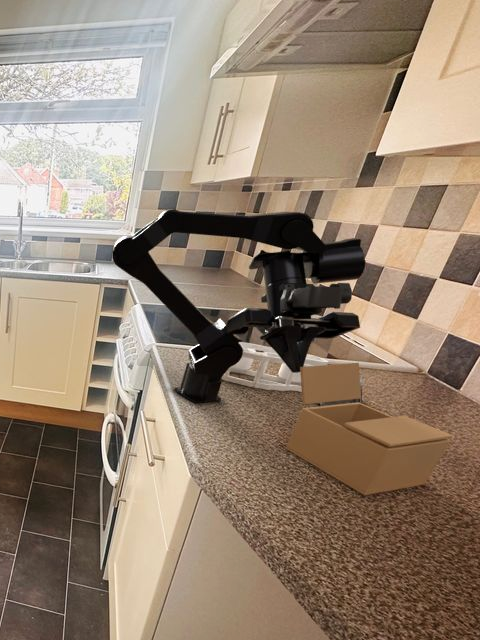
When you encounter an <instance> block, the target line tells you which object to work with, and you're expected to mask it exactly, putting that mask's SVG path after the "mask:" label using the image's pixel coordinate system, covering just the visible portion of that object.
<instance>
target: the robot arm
mask: <svg viewBox="0 0 480 640" xmlns="http://www.w3.org/2000/svg"><path fill="white" fill-rule="evenodd" d="M314 227H315V226H314V221H313V219H312V218H311V216H310V215H309V214H307V213H304V212H300V211H298V212H297V211H278V212H267V213H266V212H265V213H257V214H250V215H240V214H239V215H238V214H224V213H211V212H197V211H184V210H183V211H182V210H178V209H174V208H171V209H166V210H164V211H162V212H161V213H160V215H159V216H157V217H156V218H155V219H153V220H152V221H150V222H149V223H148V224H146V225H145V226H144V227H142V228H141V229H139V230H138V231H137V232H135V233H134V234H132V235H124V236H122V237H120V238H119V239H117V241H116V242H115V244H114V246H113V249H112V256H111V257H112V261H113V263H114V265H115V266H116V267H118V268H119V269H121V270H122V271H123V272H125V273H126V274H127V275H129V277H132V278H133V279H135V280H136V281H139V282H140V283H142V284H143V285H145V287H146V288H147V289H148V290H149V291H150V292H151V293H152V294H153V295H154V296H155V297H156V298H157V299H158V300H159V301H160V302H161V303H162V304H163V305H164V306H165V308H167V309H168V310H169V311H170V312H171V314H173V315H174V317H176V318H177V320H179V322H180V323H181V324H182V325H183V326H184V327H185V328H186V329H187V330H188V331H189V332H190V333H191V334H192V336H193V337H194V338H195V340H196V342H197V343H198V344H197V345H195V346H192V347H191V348H189V349H188V351H187V352H188V358H189V361H190V362H186V367H185V369H184V373H183V377H182V380H181V384H180V386H177V387H173V391H174V392H176V393H178V394H179V395H181V396H182V397H184V398H186V399H187V400H189V401H191V402H192V403H194V404H201V403H211V402H220V401H222V398H221V397H220V396H219V392H220V389H221V386H222V382H223V380H222V379H221V378H222V376H223V375H224V374H225V372H226V371H227V370H228V369H229V368H230V367H231V366H233V365H235V364H237V363H238V362H239V361H240V359H241V358H242V355H243V348H242V347H241V345H240V344H239V343H238V342H243V339H242V338H240V336H243V335H245V334H247V332H249V330H250V328H262V329H263V328H264V334H263V335H262V334H261V335H260V336H259V340H260V341H265V342H266V343H267V344H268V346H269V347H271V348H273V349H274V350H275V352H276V353H277V354H278V355H279V356H280V358H281V359H282V360H283V361H284V363H285V364H286V365H287V366H288V368H289V369H290V370H291V371H292V372H293V373H298V372H300V367H303V366H304V362H305V359H306V356H307V354H308V353H309V349H310V347H311V344H312V342H313V340H314V339H320V340H321V339H324V340H329V339H334V338H337V337H340V336H342V335H345V334H347V333H350V332H352V331H355V330H358V329H361V323H360V318H359V317H360V316H359V315H358V314H356V313H354V312H345V311H343V312H342V311H331V312H329V313H326V314H324V315H322V316H320V317H318V318H312V316H314V315H315V316H317V315H319V314H321V313H323V309H334V310H337V309H338V310H339V309H341V305H345V304H350V302H351V301H352V297H353V290H352V287H351V284H350V283H349V282H346V281H356V280H358V279H360V278H361V277H362V276H363V274H364V271H365V268H366V259H365V253H364V251H363V248H362V246H361V243H362V239H361V238H358V237H357V238H356V237H351V238H345V239H342V240H338V241H329V242H324V241H323V240H322V239H321V238H320V237H319V236H318V235H317V234H316V232H314ZM175 233H176V234H177V233H178V234H188V235H189V234H190V235H201V236H213V237H225V238H237V239H245V240H248V241H252V242H256V243H259V244H264V245H267V246H271V247H275V248H279V249H284V250H283V251H275V252H273V251H272V252H269V251H265V250H264V249H261V250H259V252H258V254H257V255H255V256H254V257H253V258H252V259H251V262H250V264H249V265H248V269H249V270H258V269H262V273H263V280H264V288H265V294H263V295H262V296H260V301H261V303H263V304H267V305H266V306H267V308H260V307H259V308H258V307H245V308H244V309H242V310H240V311H238V312H237V313H235V314H234V315H232V316H230V317H229V318H228V320H227V322H225V321H224V319H223V318H222V317H220V318H218V320H216V322H214V321H213V320H211V319H210V318H208V317H206V315H205V314H204V313H203V312H202V311H201V310H200V309H199V308H198V307H197V306H196V305H195V304H194V303H193V302H192V301H191V300H190V299H189V298H188V297H187V296H186V295H185V294H184V293H183V292H182V290H181V289H179V287H177V286H176V284H175V283H173V281H172V280H171V279H170V278H169V277H168V276H167V275H166V274H165V273H164V272H163V270H161V268H159V266H158V265H157V263H156V262H155V260H154V258H153V256H152V255H151V254H150V252H151V250H154V248H156V247H157V246H158V245H160V243H162V242H163V241H164V240H165V239H166V238H168V237H169V236H171V235H172V234H175ZM290 250H299V251H301V252H293V251H290ZM309 279H310V281H311V282H312V283H307V280H309ZM336 282H337V283H336ZM325 283H331V284H330V285H329V286H321V285H317V284H325ZM315 285H317V286H315ZM239 335H240V336H239Z"/></svg>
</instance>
